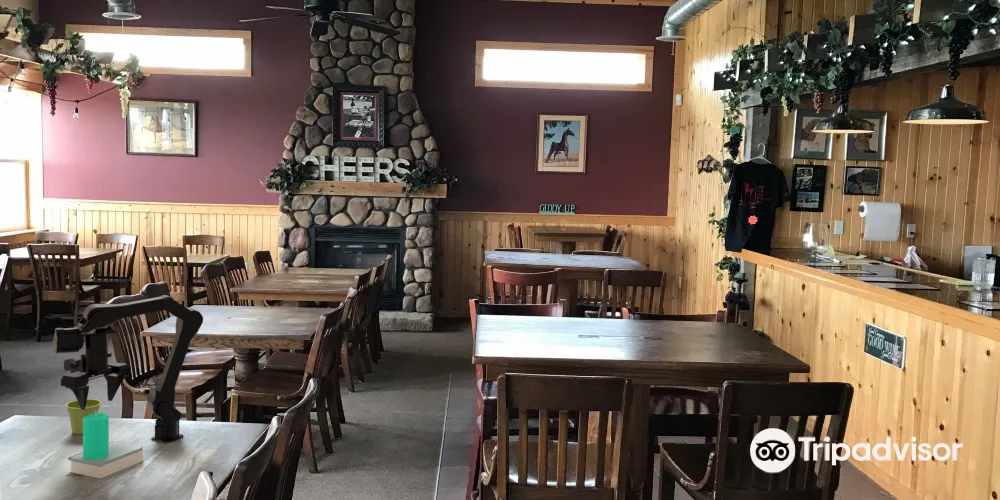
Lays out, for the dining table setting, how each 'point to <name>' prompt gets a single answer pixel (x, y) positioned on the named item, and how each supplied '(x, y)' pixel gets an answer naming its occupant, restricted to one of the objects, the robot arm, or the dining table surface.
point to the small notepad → (106, 466)
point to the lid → (115, 453)
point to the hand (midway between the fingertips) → (96, 404)
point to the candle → (95, 436)
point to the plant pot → (81, 413)
